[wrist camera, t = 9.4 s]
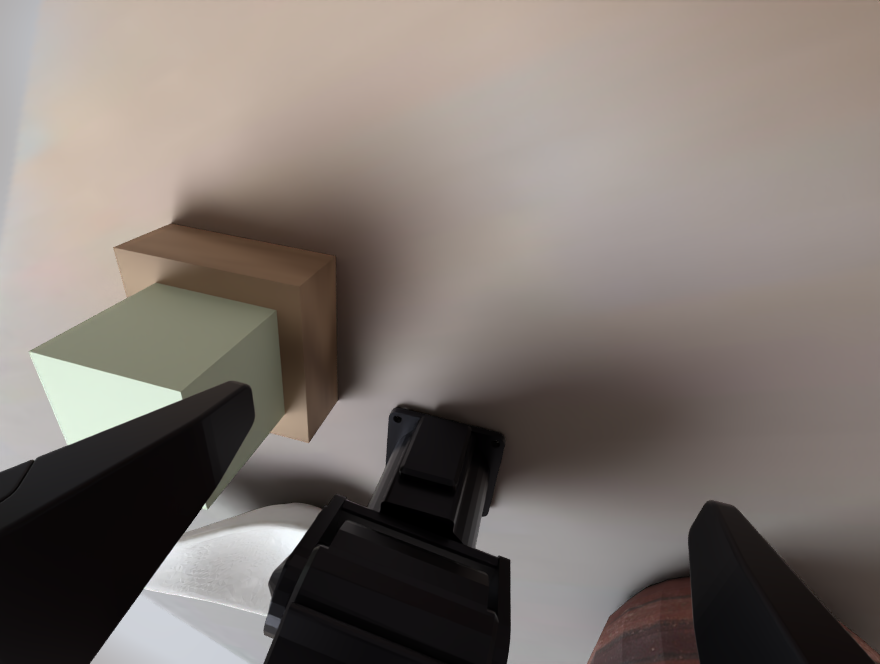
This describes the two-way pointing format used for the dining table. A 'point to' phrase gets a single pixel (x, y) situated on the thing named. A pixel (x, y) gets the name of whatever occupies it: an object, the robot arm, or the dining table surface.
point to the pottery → (659, 629)
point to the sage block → (162, 363)
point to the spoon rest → (234, 557)
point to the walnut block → (256, 303)
